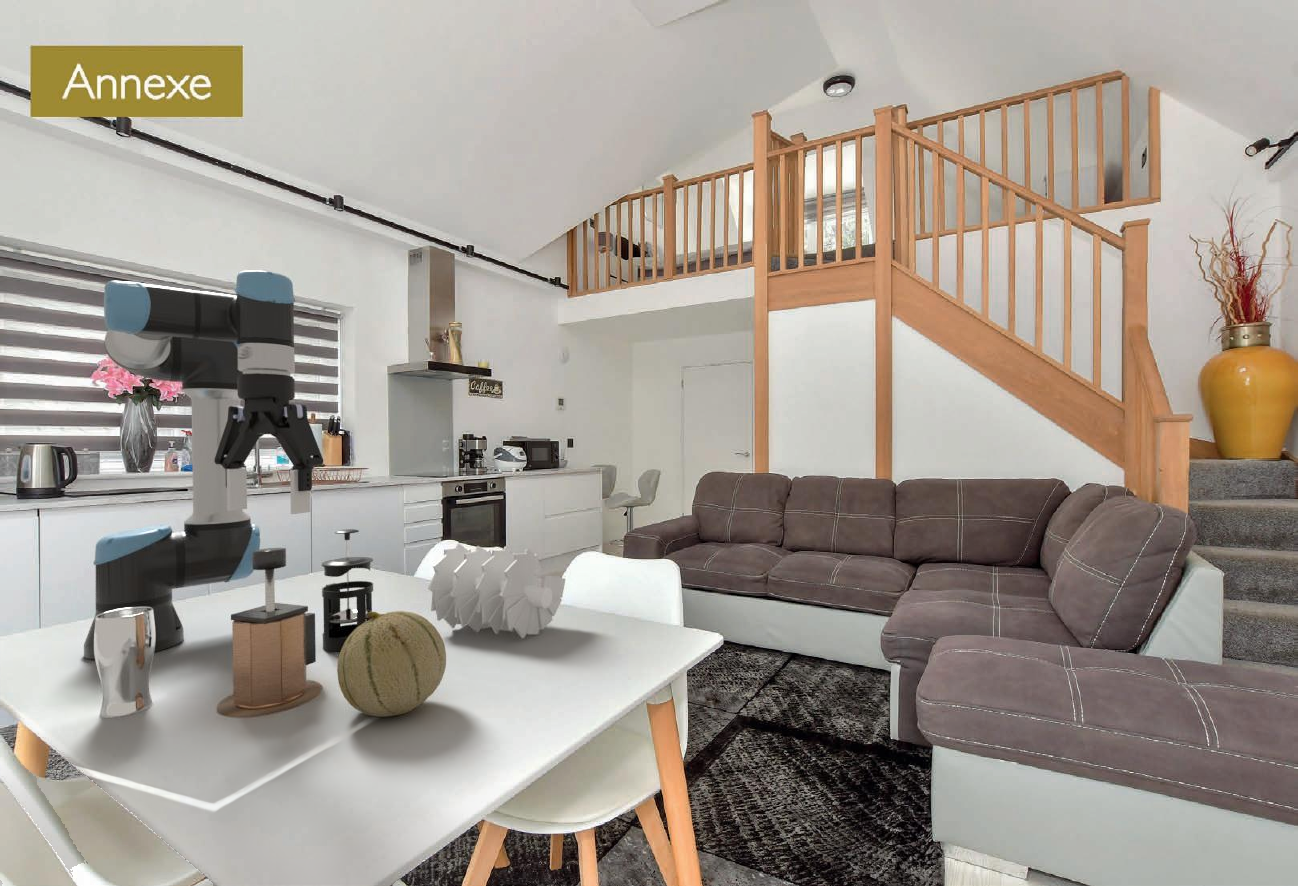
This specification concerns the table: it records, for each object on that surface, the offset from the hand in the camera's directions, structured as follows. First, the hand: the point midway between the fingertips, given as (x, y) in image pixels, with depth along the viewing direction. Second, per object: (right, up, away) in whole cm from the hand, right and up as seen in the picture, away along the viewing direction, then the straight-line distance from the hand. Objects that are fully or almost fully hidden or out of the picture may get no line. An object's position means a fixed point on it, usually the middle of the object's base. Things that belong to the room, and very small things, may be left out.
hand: (268, 511), depth 94 cm
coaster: (+1, -29, 0) cm, 29 cm away
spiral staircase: (+27, -29, +34) cm, 52 cm away
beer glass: (-19, -30, -4) cm, 35 cm away
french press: (0, -30, +24) cm, 38 cm away
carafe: (+1, -29, +1) cm, 29 cm away
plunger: (+1, -27, 0) cm, 27 cm away
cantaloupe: (+21, -29, -5) cm, 36 cm away
